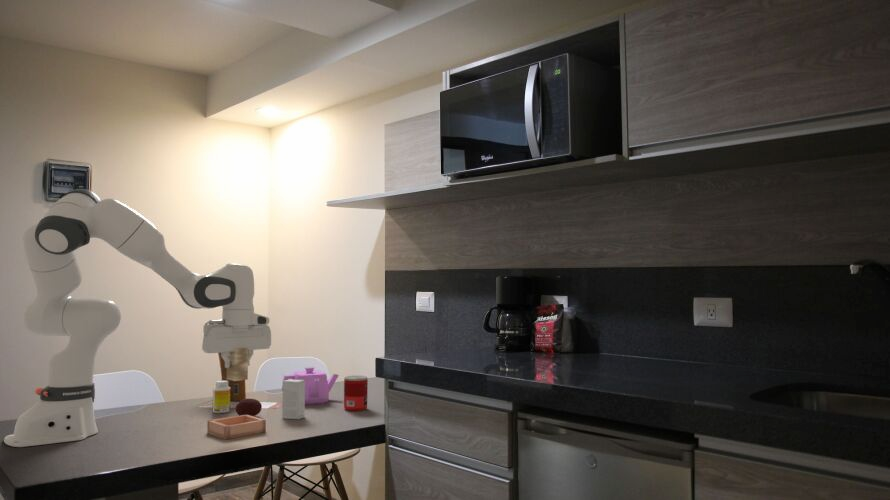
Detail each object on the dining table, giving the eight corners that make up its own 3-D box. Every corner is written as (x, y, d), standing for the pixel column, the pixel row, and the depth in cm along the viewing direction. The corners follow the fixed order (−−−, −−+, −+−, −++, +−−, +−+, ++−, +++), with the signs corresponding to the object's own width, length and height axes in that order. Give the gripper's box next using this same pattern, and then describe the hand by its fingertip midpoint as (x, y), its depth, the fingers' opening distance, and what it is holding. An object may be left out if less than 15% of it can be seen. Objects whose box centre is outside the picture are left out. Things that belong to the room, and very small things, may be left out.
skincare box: (305, 417, 210) (305, 379, 211) (298, 419, 206) (299, 381, 206) (288, 415, 212) (288, 379, 212) (281, 418, 207) (282, 380, 208)
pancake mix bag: (236, 403, 233) (237, 325, 234) (210, 396, 245) (211, 323, 247) (253, 400, 238) (254, 324, 239) (226, 394, 250) (227, 322, 252)
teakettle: (301, 395, 249) (302, 363, 250) (340, 398, 244) (341, 365, 244) (276, 403, 233) (276, 369, 234) (317, 406, 228) (318, 371, 228)
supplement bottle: (232, 412, 217) (233, 381, 218) (216, 414, 214) (216, 383, 214) (226, 409, 221) (227, 379, 222) (210, 411, 218) (210, 381, 218)
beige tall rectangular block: (234, 381, 185) (235, 349, 186) (226, 379, 189) (227, 348, 189) (247, 379, 188) (248, 348, 188) (239, 377, 191) (239, 347, 192)
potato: (251, 420, 204) (252, 401, 205) (229, 418, 207) (230, 399, 207) (265, 416, 211) (265, 397, 212) (244, 414, 214) (244, 396, 214)
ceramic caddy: (225, 439, 180) (226, 426, 180) (207, 432, 187) (207, 420, 188) (265, 432, 189) (265, 420, 189) (246, 426, 196) (246, 414, 197)
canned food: (369, 410, 221) (370, 378, 222) (346, 412, 218) (347, 379, 219) (364, 406, 228) (364, 375, 229) (341, 407, 225) (342, 376, 226)
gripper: (209, 321, 180) (207, 371, 179) (274, 318, 194) (273, 364, 193) (198, 320, 184) (197, 368, 183) (263, 317, 199) (262, 362, 198)
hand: (237, 366), depth 189 cm, fingers closed on beige tall rectangular block, 4 cm apart
